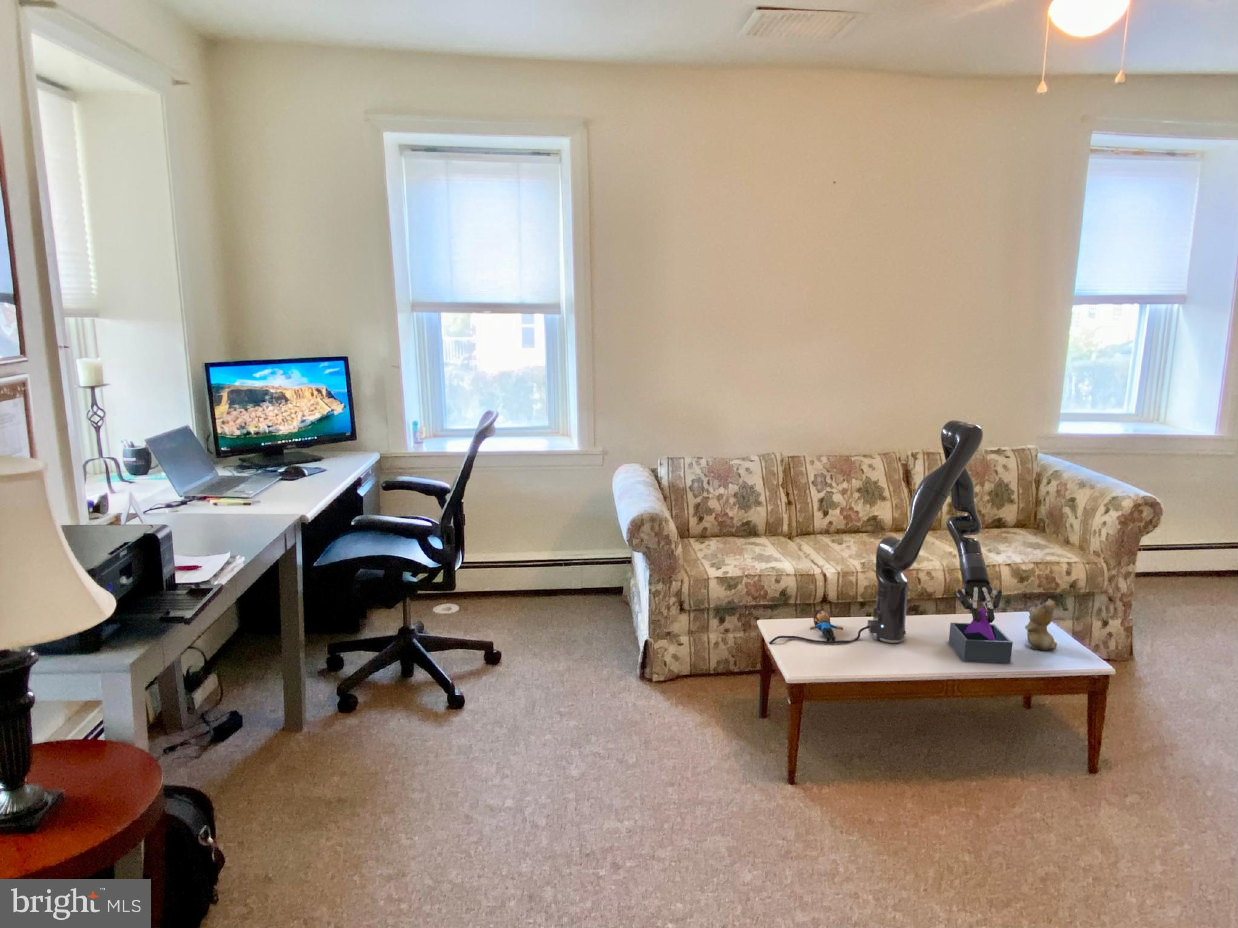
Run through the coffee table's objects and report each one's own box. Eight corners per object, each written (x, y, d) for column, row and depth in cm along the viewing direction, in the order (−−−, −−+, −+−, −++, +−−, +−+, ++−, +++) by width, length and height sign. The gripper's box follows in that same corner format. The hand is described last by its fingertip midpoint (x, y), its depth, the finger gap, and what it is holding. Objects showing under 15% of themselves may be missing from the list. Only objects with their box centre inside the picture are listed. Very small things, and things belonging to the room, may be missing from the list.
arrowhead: (977, 651, 233) (955, 623, 237) (979, 649, 234) (957, 621, 238) (1003, 636, 227) (981, 608, 230) (1005, 634, 228) (983, 606, 232)
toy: (814, 633, 240) (804, 605, 253) (812, 648, 242) (802, 619, 256) (849, 633, 240) (836, 605, 253) (846, 648, 242) (834, 619, 256)
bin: (963, 661, 228) (965, 640, 226) (948, 642, 241) (950, 622, 240) (1010, 663, 227) (1012, 642, 225) (992, 644, 240) (994, 624, 238)
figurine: (1018, 637, 245) (1023, 593, 242) (1047, 640, 243) (1052, 596, 240) (1028, 650, 235) (1033, 605, 232) (1058, 653, 234) (1064, 607, 231)
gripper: (954, 564, 237) (964, 616, 227) (1000, 565, 235) (1013, 617, 226) (947, 574, 243) (956, 625, 234) (992, 576, 242) (1004, 627, 232)
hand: (984, 621), depth 230 cm, fingers closed on arrowhead, 3 cm apart
